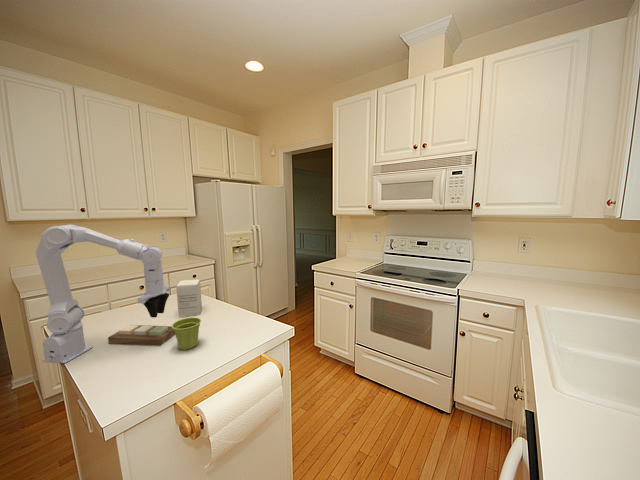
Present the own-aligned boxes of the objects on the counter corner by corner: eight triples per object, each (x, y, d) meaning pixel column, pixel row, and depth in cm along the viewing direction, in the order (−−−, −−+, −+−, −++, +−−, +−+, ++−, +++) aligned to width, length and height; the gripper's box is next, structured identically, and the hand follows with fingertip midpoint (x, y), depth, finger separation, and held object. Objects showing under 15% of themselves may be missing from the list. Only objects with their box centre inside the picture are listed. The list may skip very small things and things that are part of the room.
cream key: (130, 337, 96) (129, 330, 96) (119, 336, 97) (118, 330, 97) (139, 331, 101) (138, 325, 101) (128, 331, 101) (128, 325, 101)
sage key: (160, 338, 96) (160, 332, 95) (149, 337, 96) (148, 331, 96) (168, 332, 100) (167, 326, 100) (157, 332, 100) (157, 326, 100)
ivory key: (145, 337, 96) (144, 331, 96) (134, 337, 96) (133, 331, 96) (153, 332, 100) (153, 326, 100) (143, 331, 101) (142, 325, 100)
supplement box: (182, 310, 125) (179, 280, 123) (202, 308, 128) (200, 278, 126) (178, 317, 116) (175, 285, 114) (199, 315, 119) (197, 284, 117)
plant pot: (170, 354, 87) (168, 330, 86) (177, 340, 96) (175, 318, 95) (200, 350, 90) (198, 326, 89) (204, 337, 99) (203, 315, 98)
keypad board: (160, 345, 93) (159, 339, 92) (108, 343, 94) (107, 337, 94) (177, 332, 103) (177, 326, 102) (130, 330, 104) (130, 324, 104)
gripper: (150, 286, 88) (153, 323, 89) (176, 274, 102) (179, 307, 104) (130, 285, 88) (134, 323, 90) (160, 274, 103) (162, 307, 104)
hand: (157, 314), depth 97 cm, fingers open, 3 cm apart
